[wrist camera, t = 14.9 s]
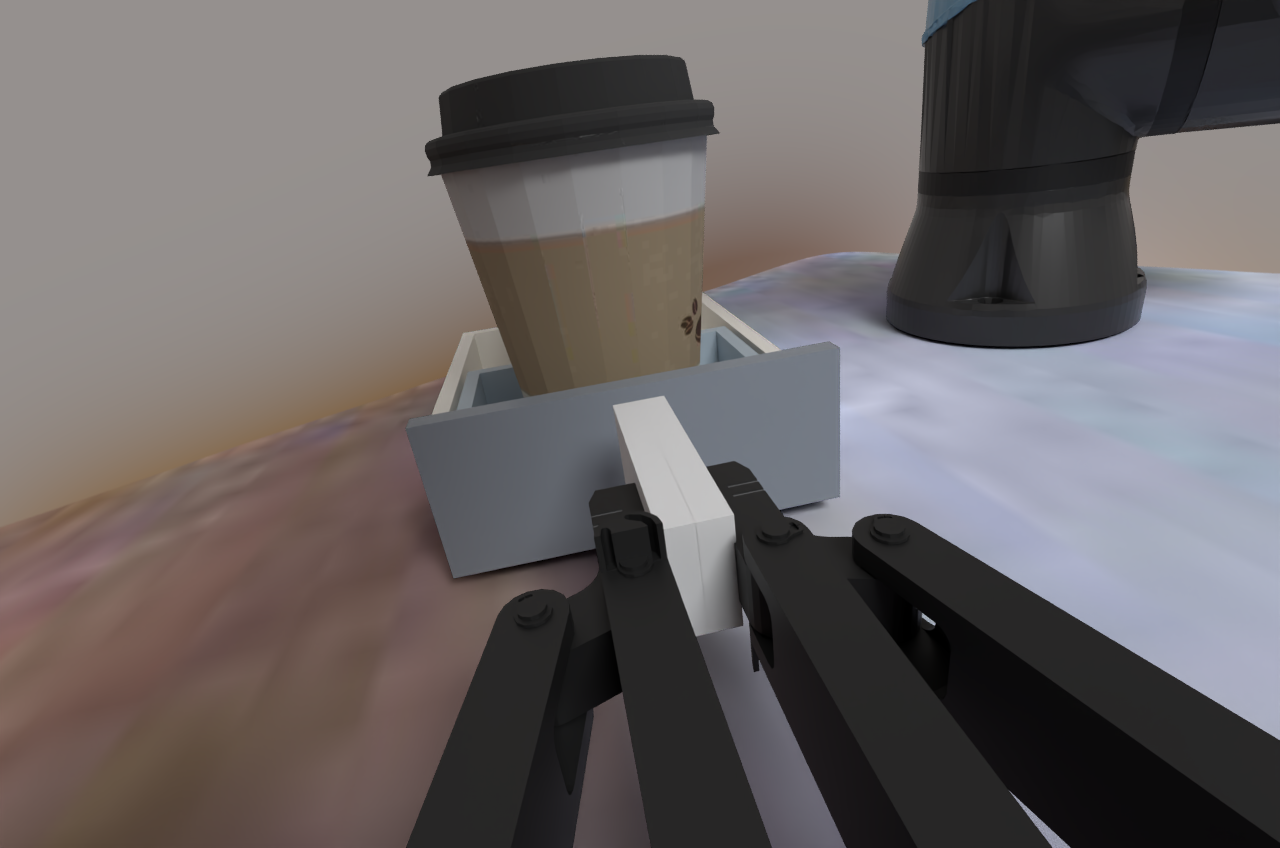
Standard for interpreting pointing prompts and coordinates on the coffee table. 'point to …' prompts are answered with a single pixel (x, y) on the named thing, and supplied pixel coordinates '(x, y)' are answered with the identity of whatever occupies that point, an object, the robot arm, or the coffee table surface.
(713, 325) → the box
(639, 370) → the coffee cup
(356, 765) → the coffee table surface
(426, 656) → the coffee table surface
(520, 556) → the tray
